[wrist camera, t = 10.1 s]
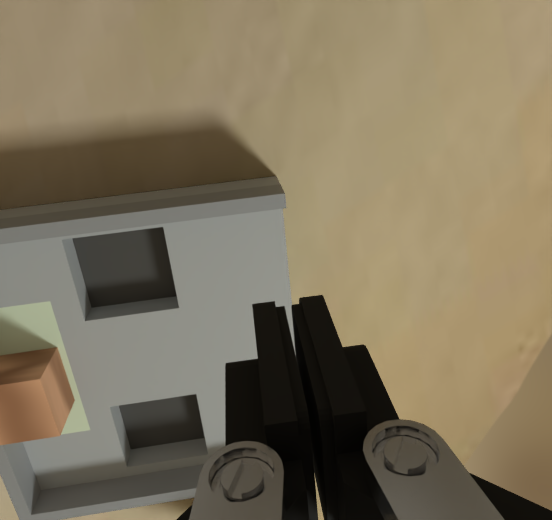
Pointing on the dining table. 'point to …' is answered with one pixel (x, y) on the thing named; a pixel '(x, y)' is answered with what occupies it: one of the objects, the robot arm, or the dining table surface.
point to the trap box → (136, 334)
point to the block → (33, 396)
